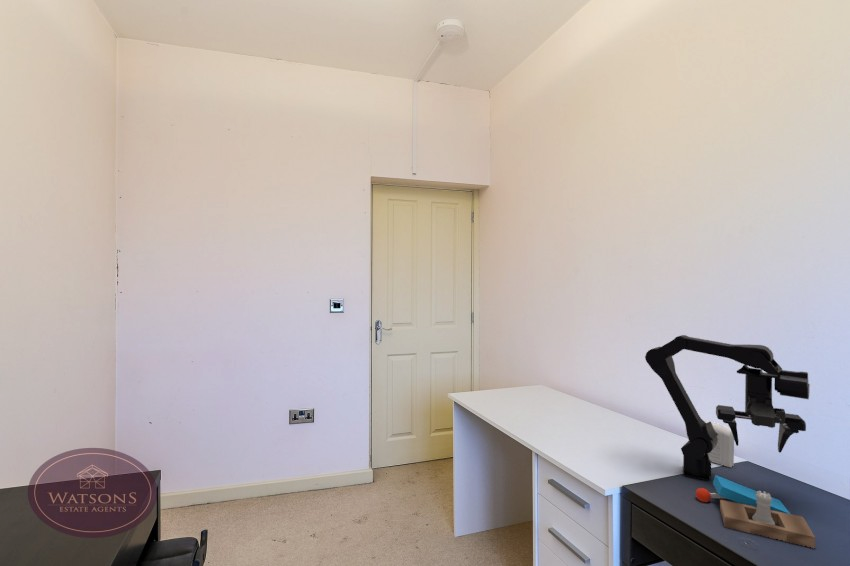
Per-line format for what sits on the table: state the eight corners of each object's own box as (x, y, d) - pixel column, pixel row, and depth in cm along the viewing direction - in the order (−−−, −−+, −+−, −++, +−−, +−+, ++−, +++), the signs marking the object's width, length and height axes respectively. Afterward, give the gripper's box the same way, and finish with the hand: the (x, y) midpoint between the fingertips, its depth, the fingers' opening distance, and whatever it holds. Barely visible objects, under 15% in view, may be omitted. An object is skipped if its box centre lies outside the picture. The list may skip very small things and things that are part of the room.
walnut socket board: (724, 527, 98) (724, 516, 98) (719, 508, 106) (720, 499, 106) (814, 548, 91) (815, 537, 91) (802, 527, 98) (802, 516, 98)
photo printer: (736, 465, 132) (736, 426, 132) (730, 469, 129) (731, 428, 129) (699, 454, 140) (700, 417, 140) (694, 457, 137) (694, 419, 137)
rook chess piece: (779, 534, 96) (780, 499, 96) (757, 531, 97) (757, 496, 97) (769, 523, 100) (769, 489, 100) (747, 520, 101) (747, 487, 101)
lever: (770, 524, 108) (691, 491, 115) (779, 500, 107) (700, 468, 114) (780, 539, 101) (696, 504, 108) (790, 514, 101) (705, 479, 107)
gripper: (720, 393, 112) (720, 452, 112) (812, 404, 103) (812, 467, 103) (715, 385, 122) (715, 438, 122) (799, 393, 113) (799, 451, 113)
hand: (757, 448), depth 115 cm, fingers open, 9 cm apart
